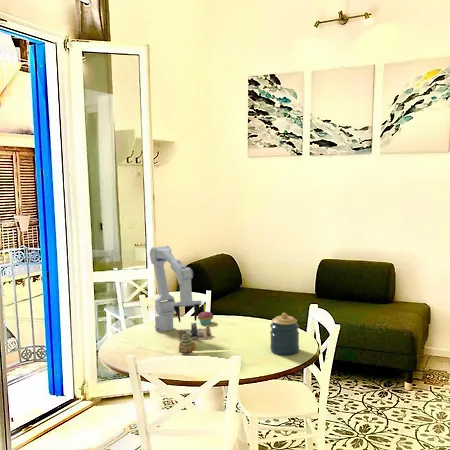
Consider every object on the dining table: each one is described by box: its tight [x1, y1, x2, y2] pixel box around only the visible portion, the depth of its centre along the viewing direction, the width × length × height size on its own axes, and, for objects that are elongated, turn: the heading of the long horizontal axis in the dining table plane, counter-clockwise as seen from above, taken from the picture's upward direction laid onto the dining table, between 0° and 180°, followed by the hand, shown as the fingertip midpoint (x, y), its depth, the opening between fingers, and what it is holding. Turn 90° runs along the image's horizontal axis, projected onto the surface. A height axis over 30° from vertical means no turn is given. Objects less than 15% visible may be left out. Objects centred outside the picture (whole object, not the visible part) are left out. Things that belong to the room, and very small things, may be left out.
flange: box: [186, 326, 203, 339], centre depth 240 cm, size 12×8×6 cm, turn 6°
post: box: [190, 322, 198, 332], centre depth 242 cm, size 3×3×6 cm
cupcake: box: [197, 303, 214, 325], centre depth 261 cm, size 9×8×12 cm
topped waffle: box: [178, 331, 196, 355], centre depth 221 cm, size 8×6×10 cm
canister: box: [269, 312, 300, 356], centre depth 219 cm, size 13×13×18 cm
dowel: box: [205, 324, 210, 335], centre depth 241 cm, size 2×2×4 cm
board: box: [178, 327, 213, 342], centre depth 242 cm, size 16×18×1 cm
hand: (187, 321), depth 235 cm, fingers open, 7 cm apart
